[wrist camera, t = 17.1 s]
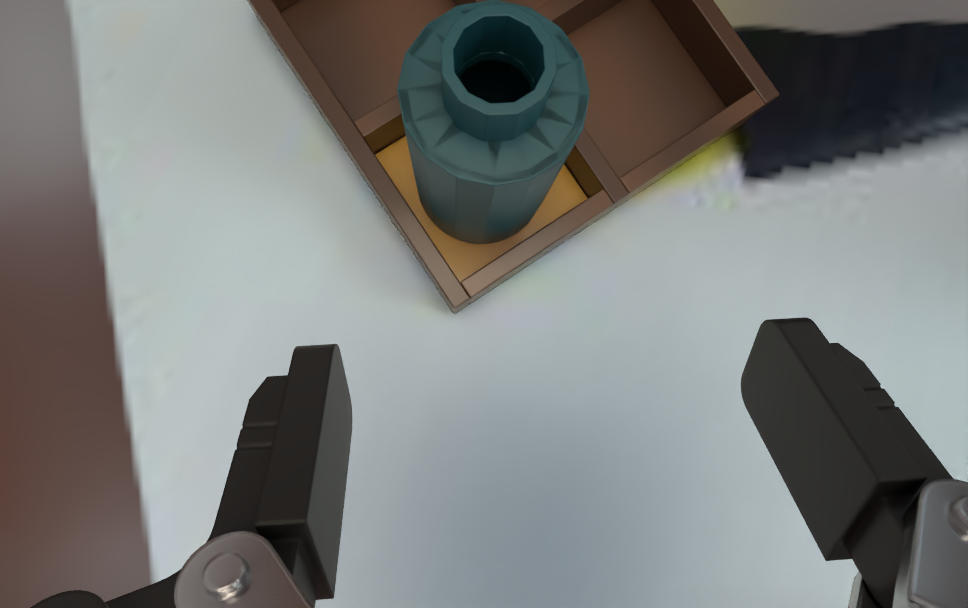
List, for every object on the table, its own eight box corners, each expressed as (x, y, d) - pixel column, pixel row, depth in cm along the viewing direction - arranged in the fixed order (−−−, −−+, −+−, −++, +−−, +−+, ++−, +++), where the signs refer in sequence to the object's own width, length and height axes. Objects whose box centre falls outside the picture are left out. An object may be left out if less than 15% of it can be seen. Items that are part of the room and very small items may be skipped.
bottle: (497, 98, 28) (527, -80, 17) (567, 200, 28) (645, 90, 17) (393, 163, 28) (350, 26, 16) (462, 268, 28) (469, 203, 16)
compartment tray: (550, -157, 31) (561, -215, 27) (746, 121, 30) (780, 94, 27) (256, 16, 29) (232, -25, 26) (454, 314, 28) (454, 309, 25)
